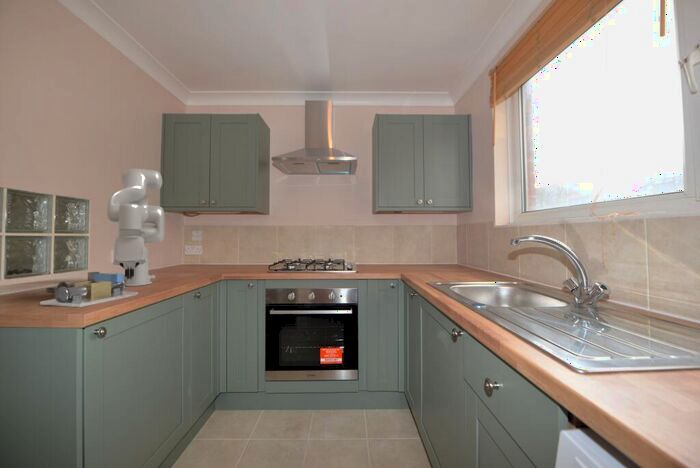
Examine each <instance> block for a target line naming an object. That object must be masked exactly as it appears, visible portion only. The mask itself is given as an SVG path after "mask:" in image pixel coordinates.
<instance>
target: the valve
mask: <svg viewBox="0 0 700 468" xmlns="http://www.w3.org/2000/svg"><path fill="white" fill-rule="evenodd" d="M59 287H66V288H70V287H75V284H72V285H71V284H68V283H67V282H65V281H61V282H59V283H58V285H57V286H56V287H46V288H45V291H50V292H51V291H52V292H55V291H56V289H57V288H59Z"/></svg>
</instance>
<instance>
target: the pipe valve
mask: <svg viewBox="0 0 700 468" xmlns="http://www.w3.org/2000/svg"><path fill="white" fill-rule="evenodd" d="M125 282H126V281H125V280H124V281H123V282H108V281H88V280H86V281H85V280H84V281H79V282H75V283H74V285H75V287H70V288H66V287H59V288H57V287H56V288H57V289H56V291H54V296H53V297H54V298H53V299H47V300H46V299H45V300H42V301H40V302H39V303H40V306H53V307H56V306H57V307H72V308H73V307H74V308H82V307H87V306H91V305H97V304H102V303H106V302H109V301H115V300H120V299H124V298H128V297H133V296H138V295H139V292H138V291H128V290H127V291H125V289H126V287H127V286H126V283H125Z"/></svg>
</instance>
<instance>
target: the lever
mask: <svg viewBox="0 0 700 468" xmlns="http://www.w3.org/2000/svg"><path fill="white" fill-rule="evenodd" d="M124 278H125V273H119V272H118V273H117V272H116V273H101V272H100V271H89V272H87V281H108V282H123V281H125V280H124Z"/></svg>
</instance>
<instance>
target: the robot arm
mask: <svg viewBox="0 0 700 468" xmlns="http://www.w3.org/2000/svg"><path fill="white" fill-rule="evenodd" d="M121 181H122V184H123V188H122V189H119V190H117V191H116V192H114V193H113V194H112V195H110V197H109V199H108V202H107V208H106V218H107V219H108V220H109V221H111V222H114V223H118V236H117V237H116V238H115V242H114V249H113V250H114V251H113V262H112V265H115V266H120V267H121V268H123V269H124V278H126V281H125V283H126V287H135V286H147V285H150V284H152V282H153V281H151V280H154V279H155V278H156V275H154V274H151V275H150V274H149V252H150V251H149V249H148V248H147V247H146V246H145V244H159V243H163V241H164V240H165V211H164V208H163V207H162V206H159V205H149V196H148V194H147V190H160V189H161V188H162V186H163V177H162V175H161V173H160V172H159V171H157V170H153V169H145V168H130V169H128V170H125V171H123V172H122V173H121ZM143 224H153V225H143Z"/></svg>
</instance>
